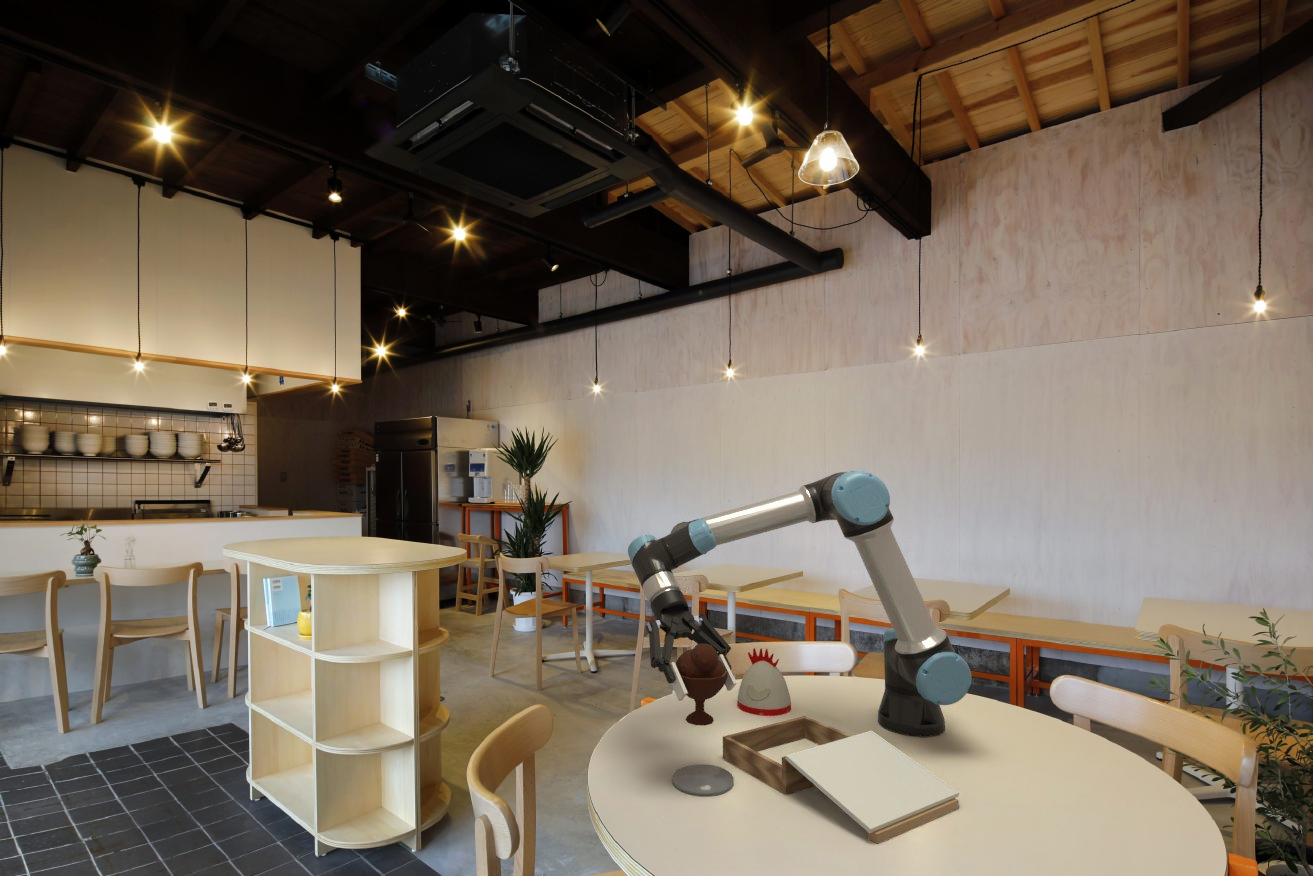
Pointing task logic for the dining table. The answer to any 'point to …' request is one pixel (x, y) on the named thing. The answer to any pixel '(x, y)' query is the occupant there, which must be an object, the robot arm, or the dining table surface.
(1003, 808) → the dining table surface
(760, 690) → the kitchen timer
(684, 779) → the coaster
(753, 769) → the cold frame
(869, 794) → the lid
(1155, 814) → the dining table surface
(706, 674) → the ice cream bowl
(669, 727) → the dining table surface
